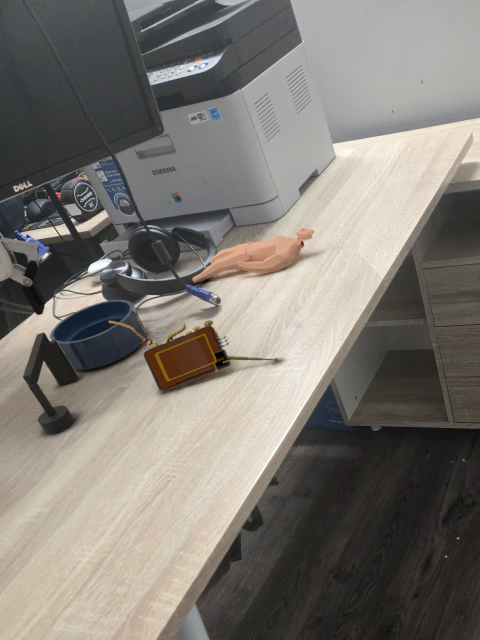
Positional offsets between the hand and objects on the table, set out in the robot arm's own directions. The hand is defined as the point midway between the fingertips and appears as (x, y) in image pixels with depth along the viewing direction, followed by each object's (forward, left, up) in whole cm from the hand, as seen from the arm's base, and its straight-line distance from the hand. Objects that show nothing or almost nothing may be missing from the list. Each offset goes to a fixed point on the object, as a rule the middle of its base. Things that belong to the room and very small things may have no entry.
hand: (7, 320), depth 91 cm
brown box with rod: (+24, -6, -15) cm, 29 cm away
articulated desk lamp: (0, 0, -14) cm, 14 cm away
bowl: (+6, +15, -14) cm, 22 cm away
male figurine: (+35, +31, -15) cm, 49 cm away
